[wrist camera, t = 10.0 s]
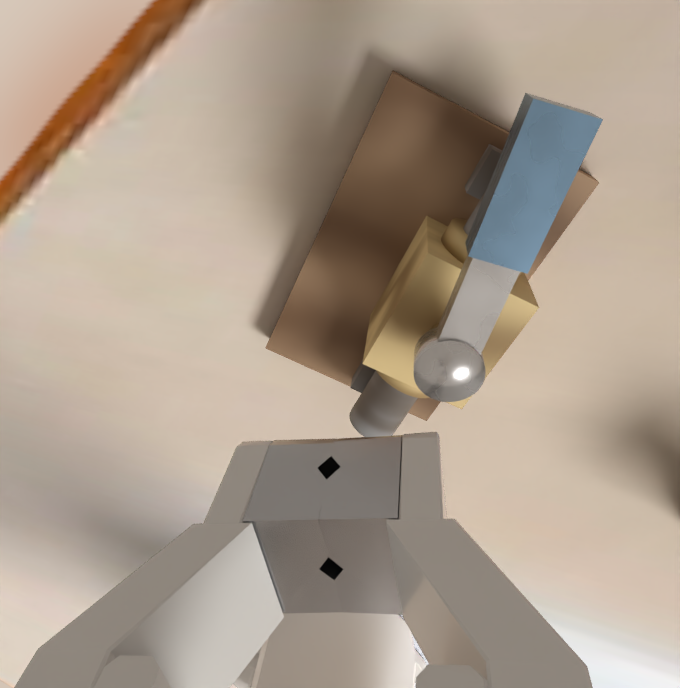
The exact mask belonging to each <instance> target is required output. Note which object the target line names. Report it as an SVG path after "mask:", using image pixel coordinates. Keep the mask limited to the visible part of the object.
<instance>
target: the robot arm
mask: <svg viewBox="0 0 680 688" xmlns="http://www.w3.org/2000/svg"><path fill="white" fill-rule="evenodd" d="M399 615H403V618H404V620H405V621H404V620H403V619H402V618H401V617H400V616H399ZM411 632H412V633H411ZM412 634H413V636H414V638H415V640H416V641H417V643H418V645H419V647H420V649H421V650H422V652H423V654H424V656H425V657H426V659H427V661H428V663H429V665H427V666H426V663H425V661H424V659H423V658H422V657H421V656H420V655H419V653H418V652H417V651H416V650H415V648H414V643H413V637H412ZM415 683H416V688H593V687H592V683H591V680H590V676H589V672H588V668H587V666H586V664H585V663H584V662H583V661H582V660H581V659H580V658H579V657H578V656H577V654H576V653H575V652H574V651H573V650H572V649H571V648H570V647H569V646H568V644H567V643H566V642H565V641H564V640H563V639H562V638H561V637H560V636H559V634H558V633H557V632H556V631H555V630H554V629H553V628H552V627H551V625H550V624H549V623H548V622H547V621H546V620H545V619H544V618H543V617H542V615H541V614H540V613H539V612H538V611H537V610H536V609H535V608H534V607H533V605H532V604H531V603H530V602H529V601H528V600H527V599H526V598H525V597H524V595H523V594H522V593H521V592H520V591H519V590H518V589H517V588H516V587H515V585H514V584H513V583H512V582H511V581H510V580H509V579H508V578H507V577H506V575H505V574H504V573H503V572H502V571H501V570H500V569H499V568H498V567H497V565H496V564H495V563H494V562H493V561H492V560H491V559H490V558H489V556H488V555H487V554H486V553H485V552H484V551H483V550H482V549H481V548H480V546H479V545H478V544H477V543H476V542H475V541H474V540H473V539H472V538H471V536H470V535H469V534H468V533H467V532H466V531H465V530H464V529H463V528H462V526H461V525H460V524H459V523H458V522H457V521H456V520H455V519H447V511H446V501H445V490H444V480H443V469H442V459H441V448H440V438H439V434H438V433H437V432H428V433H414V434H404V435H398V436H380V437H361V438H343V439H303V440H274V441H249V442H242V443H241V444H240V445H239V446H237V448H236V449H235V452H234V454H233V456H232V459H231V461H230V463H229V466H228V468H227V470H226V473H225V475H224V477H223V479H222V482H221V484H220V486H219V489H218V491H217V493H216V496H215V498H214V500H213V503H212V505H211V507H210V509H209V512H208V514H207V516H206V519H205V521H204V523H203V524H193V525H192V526H190V527H189V528H188V529H187V530H186V531H184V532H183V533H182V534H181V535H179V536H178V537H177V538H176V539H174V540H173V541H172V542H171V543H169V544H168V545H167V546H166V547H164V548H163V549H162V550H161V551H159V552H158V553H157V554H156V555H154V556H153V557H152V558H151V559H149V560H148V561H147V562H146V563H144V564H143V565H142V566H141V567H139V568H138V569H137V570H136V571H134V572H133V573H132V574H131V575H129V576H128V577H127V578H126V579H124V580H123V581H122V582H121V583H120V584H118V585H117V586H116V587H115V588H113V589H112V590H111V591H110V592H108V593H107V594H106V595H105V596H103V597H102V598H101V599H100V600H98V601H97V602H96V603H95V604H93V605H92V606H91V607H90V608H88V609H87V610H86V611H85V612H83V613H82V614H81V615H80V616H78V617H77V618H76V619H75V620H73V621H72V622H71V623H70V624H68V625H67V626H66V627H65V628H63V629H62V630H61V631H60V632H58V633H57V634H56V635H55V636H53V637H52V638H51V639H50V640H49V641H47V642H46V643H45V644H44V645H42V646H41V647H40V648H39V649H38V650H37V651H36V653H35V655H34V656H33V658H32V660H31V661H30V663H29V664H28V666H27V668H26V669H25V671H24V673H23V674H22V676H21V678H20V679H19V681H18V682H17V684H16V686H15V687H14V688H230V687H231V686H232V684H234V685H235V686H236V687H237V688H414V684H415Z"/></svg>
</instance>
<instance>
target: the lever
mask: <svg viewBox="0 0 680 688" xmlns="http://www.w3.org/2000/svg"><path fill="white" fill-rule="evenodd" d="M602 120H603V119H601V118H599V117H597V116H596V115H594V114H592V113H590V112H587V111H583V110H580V109H577V108H574V107H570V106H567V105H564V104H560V103H557V102H554V101H551V100H547V99H544V98H541V97H537V96H534V95H531V94H528V93H525V96H524V98H523V101H522V103H521V106H520V108H519V111H518V113H517V116H516V118H515V121H514V123H513V125H512V128H511V130H510V133H509V135H508V138H507V140H506V143H505V145H504V148H503V150H502V153H501V155H500V158H499V160H498V163H497V165H496V167H495V170H494V172H493V175H492V177H491V180H490V182H489V185H488V187H487V190H486V192H485V195H484V197H483V200H482V202H481V205H480V207H479V209H478V212H477V214H476V217H475V219H474V222H473V224H472V227H471V229H470V232H469V234H468V237H467V239H466V242H465V244H466V249H467V254H468V255H467V257H466V259H465V262H464V264H463V267H462V269H461V272H460V274H459V276H458V279H457V281H456V284H455V286H454V289H453V291H452V293H451V296H450V298H449V301H448V303H447V306H446V308H445V310H444V313H443V315H442V318H441V320H440V322H439V325H438V327H436V328H433V329H431V330H429V331H428V332H426V333H425V334H424V335H422V337H421V338H420V339H419V340H418V342H417V344H416V346H415V349H414V380H415V383H416V385H417V387H418V388H419V389H420V390H421V391H422V392H423V393H424V394H425V395H426V396H428V397H430V398H432V399H434V400H437V401H442V402H456V401H460V400H464V399H466V398H468V397H470V396H472V395H473V394H474V393H476V392H477V391H478V390H479V388H480V387H481V386H482V384H483V382H484V379H485V374H486V370H485V364H484V359H483V353H482V351H483V349H484V347H485V345H486V342H487V340H488V338H489V336H490V334H491V332H492V330H493V328H494V326H495V324H496V321H497V319H498V317H499V315H500V313H501V311H502V309H503V307H504V305H505V303H506V301H507V298H508V296H509V294H510V292H511V290H512V288H513V286H514V284H515V282H516V280H517V277H518V275H519V273H520V272H523V273H526V274H528V272H529V270H530V268H531V266H532V264H533V262H534V260H535V258H536V256H537V254H538V252H539V250H540V248H541V246H542V244H543V242H544V239H545V237H546V235H547V233H548V231H549V229H550V227H551V225H552V223H553V221H554V219H555V217H556V215H557V213H558V211H559V209H560V207H561V205H562V202H563V200H564V198H565V196H566V194H567V192H568V190H569V188H570V186H571V184H572V182H573V180H574V178H575V176H576V174H577V172H578V170H579V168H580V165H581V163H582V161H583V159H584V157H585V155H586V153H587V151H588V149H589V147H590V145H591V143H592V141H593V139H594V137H595V135H596V133H597V131H598V128H599V126H600V124H601V122H602Z"/></svg>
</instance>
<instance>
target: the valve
mask: <svg viewBox="0 0 680 688" xmlns="http://www.w3.org/2000/svg"><path fill="white" fill-rule="evenodd" d="M509 133H510V132H508V131H506V130H504V129H502V128H500V127H498V126H497V125H495V124H493V123H491V122H489V121H487V120H485V119H483V118H481V117H480V116H478V115H476V114H474V113H472V112H470V111H468V110H466V109H465V108H463V107H461V106H459V105H457V104H455V103H453V102H451V101H450V100H448V99H446V98H444V97H442V96H440V95H438V94H436V93H435V92H433V91H431V90H429V89H427V88H425V87H423V86H421V85H419V84H418V83H416V82H414V81H412V80H410V79H408V78H406V77H404V76H403V75H401V74H399V73H397V72H395V71H392V73H391V75H390V77H389V80H388V82H387V84H386V86H385V88H384V90H383V93H382V95H381V97H380V99H379V101H378V104H377V106H376V108H375V110H374V112H373V114H372V117H371V119H370V121H369V123H368V125H367V128H366V130H365V132H364V134H363V136H362V138H361V141H360V143H359V145H358V147H357V149H356V152H355V154H354V156H353V158H352V160H351V162H350V165H349V167H348V169H347V171H346V173H345V176H344V178H343V180H342V182H341V184H340V186H339V189H338V191H337V193H336V195H335V197H334V200H333V202H332V204H331V206H330V208H329V210H328V213H327V215H326V217H325V219H324V221H323V224H322V226H321V228H320V230H319V232H318V234H317V237H316V239H315V241H314V243H313V245H312V248H311V250H310V252H309V254H308V256H307V258H306V261H305V263H304V265H303V267H302V269H301V272H300V274H299V276H298V278H297V280H296V282H295V285H294V287H293V289H292V291H291V293H290V296H289V298H288V300H287V302H286V304H285V306H284V309H283V311H282V313H281V315H280V317H279V320H278V322H277V324H276V326H275V328H274V330H273V333H272V335H271V337H270V339H269V341H268V343H267V346H266V349H268V350H271V351H273V352H275V353H277V354H279V355H282V356H284V357H286V358H288V359H291V360H293V361H295V362H297V363H299V364H302V365H304V366H306V367H308V368H310V369H313V370H315V371H317V372H319V373H322V374H324V375H326V376H328V377H330V378H333V379H335V380H337V381H339V382H341V383H344V384H346V385H348V386H350V387H351V388H352V389H354V390H356V391H358V392H361V393H362V394H361V395H360V397H359V398H358V400H357V402H356V403H355V405H354V407H353V408H352V410H351V412H350V421H351V423H352V425H353V426H354V428H355V429H356V430H357V431H358V432H359V433H360V434H361V435H363V436H364V437H380V436H392V435H393V433H394V432H395V431H396V429H397V428H398V426H399V425H400V423H401V422H402V420H403V419H404V418H405V416H406V415H407V413H410V414H412V415H415V416H417V417H419V418H421V419H423V420H426V421H427V420H428V418H429V417H430V415H431V414H432V413H433V411H434V410H435V409H436V407H437V406H438V404H439V403H440V402H441V401H437V400H434V399H432V398H430V397H428V396H426V395H425V394H424V393H423V392H422V391H421V390H420V389H419V388H418V387H417V385H416V383H415V380H414V349H415V346H416V344H417V342H418V340H419V339H420V338H421V337H422V335H424V334H425V333H426V332H428V331H429V330H431V329H433V328H436V327H438V325H439V322H440V320H441V318H442V315H443V313H444V310H445V308H446V306H447V303H448V301H449V298H450V296H451V293H452V291H453V289H454V286H455V284H456V281H457V279H458V276H459V274H460V272H461V269H462V267H463V264H464V262H465V259H466V257H467V255H468V254H467V249H466V244H465V242H466V239H467V237H468V234H469V232H470V229H471V227H472V224H473V222H474V219H475V217H476V214H477V212H478V209H479V207H480V205H481V202H482V200H483V197H484V195H485V192H486V190H487V187H488V185H489V182H490V180H491V177H492V175H493V172H494V170H495V167H496V165H497V163H498V160H499V158H500V155H501V153H502V150H503V148H504V145H505V143H506V140H507V138H508V135H509ZM598 184H599V182H598V181H597V180H596V179H595V178H594V177H592V176H590V175H589V174H587V173H585V172H583V171H581V170H578V172H577V174H576V176H575V178H574V180H573V182H572V184H571V186H570V188H569V190H568V192H567V194H566V196H565V198H564V200H563V202H562V205H561V207H560V209H559V211H558V213H557V215H556V217H555V219H554V221H553V223H552V225H551V227H550V229H549V231H548V233H547V235H546V237H545V239H544V242H543V244H542V246H541V248H540V250H539V252H538V254H537V256H536V258H535V260H534V262H533V264H532V266H531V268H530V270H529V272H528V274H526V273H523V272H520V273H519V275H518V277H517V280H516V282H515V284H514V286H513V288H512V290H511V292H510V294H509V296H508V298H507V301H506V303H505V305H504V307H503V309H502V311H501V313H500V315H499V317H498V319H497V321H496V324H495V326H494V328H493V330H492V332H491V334H490V336H489V338H488V340H487V342H486V345H485V347H484V349H483V351H482V353H483V359H484V364H485V370H486V374H485V378H486V377H487V375H488V374H489V373H490V371H491V370H492V369H493V367H494V366H495V365H496V363H497V362H498V361H499V359H500V358H501V357H502V356H503V354H504V353H505V352H506V350H507V349H508V348H509V346H510V345H511V344H512V342H513V341H514V340H515V338H516V337H517V336H518V334H519V333H520V332H521V331H522V329H523V328H524V327H525V325H526V324H527V323H528V321H529V320H530V319H531V317H532V316H533V315H534V313H535V312H536V311H537V309H538V308H539V307H538V304H537V302H536V299H535V297H534V294H533V292H532V290H531V287H530V285H529V282H528V280H529V279H530V277H531V276H532V275H533V273H534V272H535V271H536V269H537V268H538V266H539V265H540V264H541V262H542V261H543V260H544V258H545V257H546V255H547V254H548V253H549V251H550V250H551V248H552V247H553V246H554V244H555V243H556V242H557V240H558V239H559V237H560V236H561V235H562V233H563V232H564V231H565V229H566V228H567V226H568V225H569V224H570V222H571V221H572V219H573V218H574V217H575V215H576V214H577V213H578V211H579V210H580V208H581V207H582V206H583V204H584V203H585V202H586V200H587V199H588V197H589V196H590V195H591V193H592V192H593V190H594V189H595V188H596V186H597V185H598ZM470 398H471V396H470V397H468V398H466V399H464V400H460V401H456V402H447V403H449V404H451V405H453V406H456V407H458V408H460V409H462V408H463V407H464V405H465V404H466V403H467V402H468V400H469V399H470Z"/></svg>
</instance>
